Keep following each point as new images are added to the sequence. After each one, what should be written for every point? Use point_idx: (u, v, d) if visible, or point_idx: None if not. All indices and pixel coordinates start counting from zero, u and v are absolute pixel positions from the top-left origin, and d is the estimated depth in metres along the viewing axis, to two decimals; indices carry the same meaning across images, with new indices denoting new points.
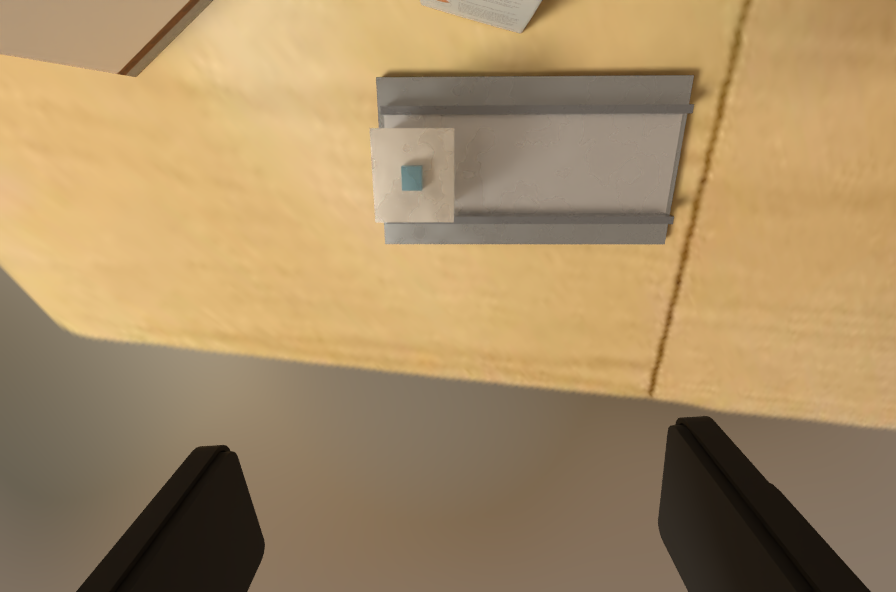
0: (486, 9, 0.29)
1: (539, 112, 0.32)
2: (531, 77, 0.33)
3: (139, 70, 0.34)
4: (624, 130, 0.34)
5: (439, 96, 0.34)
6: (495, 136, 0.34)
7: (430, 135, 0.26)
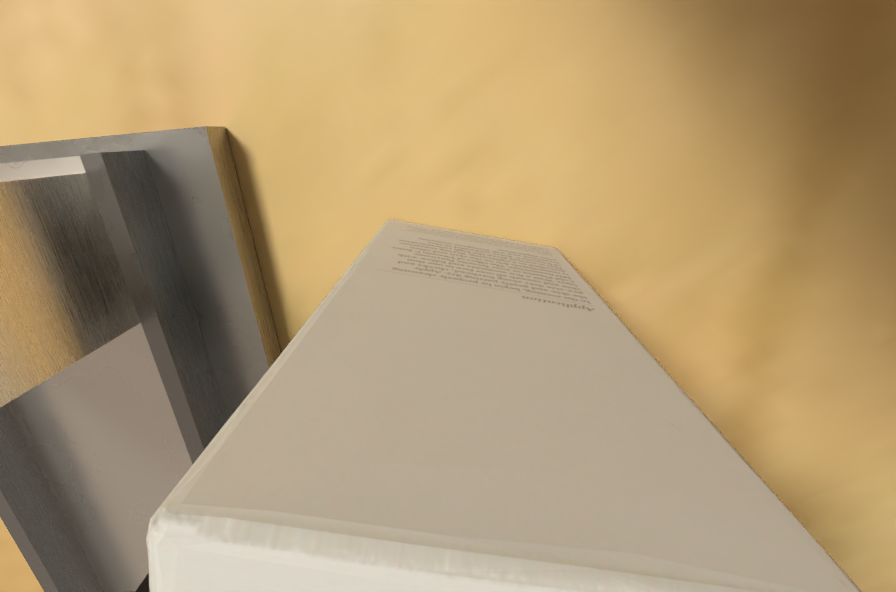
0: None
1: None
2: None
3: None
4: None
5: (206, 279, 0.15)
6: (159, 398, 0.16)
7: None
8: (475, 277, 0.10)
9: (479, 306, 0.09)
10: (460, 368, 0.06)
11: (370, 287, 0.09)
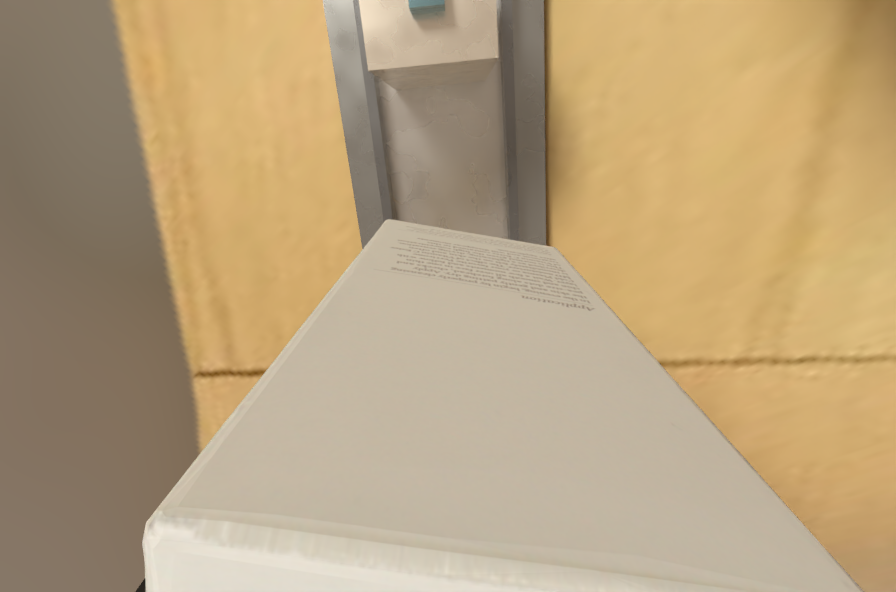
0: None
1: (509, 186, 0.28)
2: (544, 172, 0.29)
3: None
4: None
5: (522, 56, 0.27)
6: (479, 136, 0.28)
7: (487, 20, 0.18)
8: (475, 277, 0.10)
9: (478, 306, 0.09)
10: (460, 368, 0.06)
11: (368, 288, 0.08)
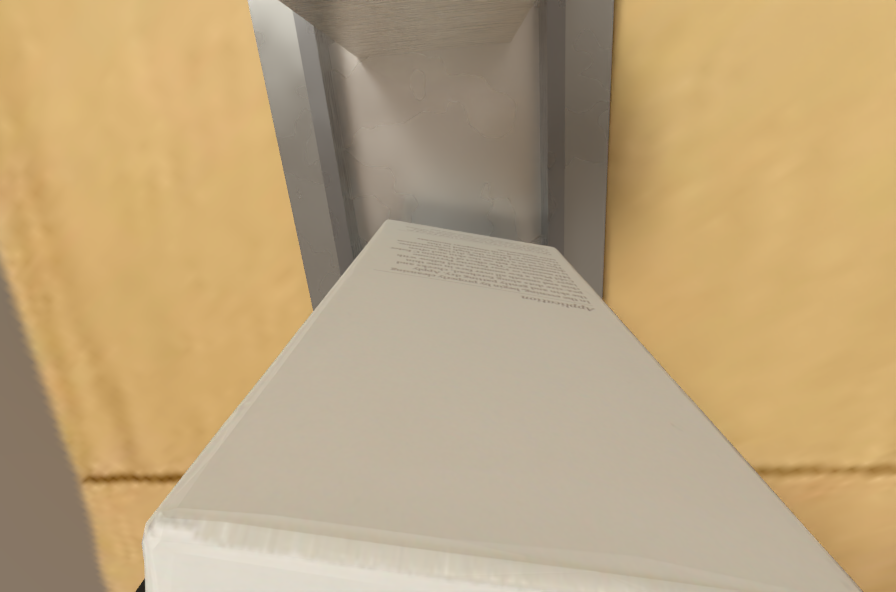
0: None
1: (550, 221, 0.16)
2: (604, 196, 0.18)
3: None
4: None
5: None
6: (499, 138, 0.17)
7: None
8: (474, 277, 0.10)
9: (478, 306, 0.09)
10: (460, 369, 0.06)
11: (368, 288, 0.08)
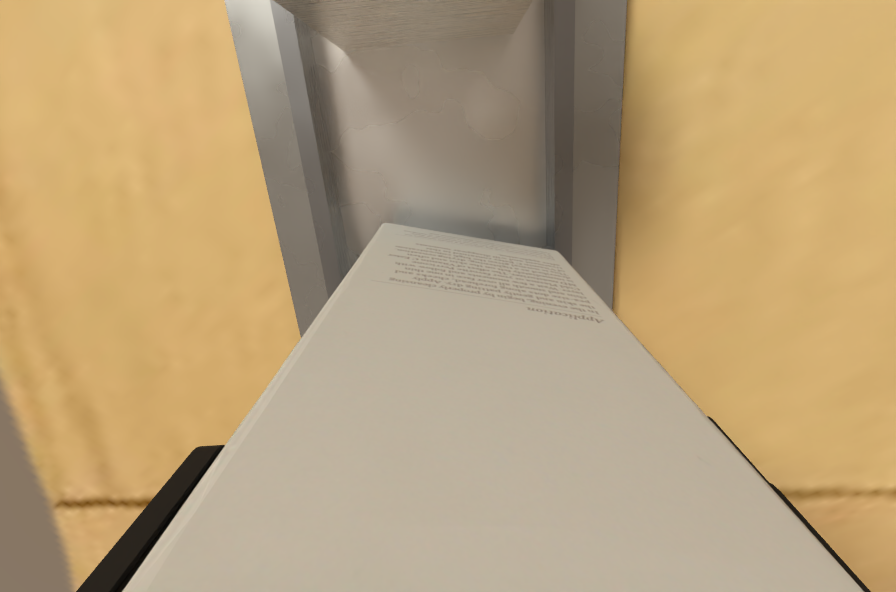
0: None
1: (557, 231, 0.15)
2: (615, 203, 0.16)
3: None
4: None
5: None
6: (500, 139, 0.15)
7: None
8: (477, 287, 0.10)
9: (483, 321, 0.08)
10: (467, 396, 0.06)
11: (365, 302, 0.08)
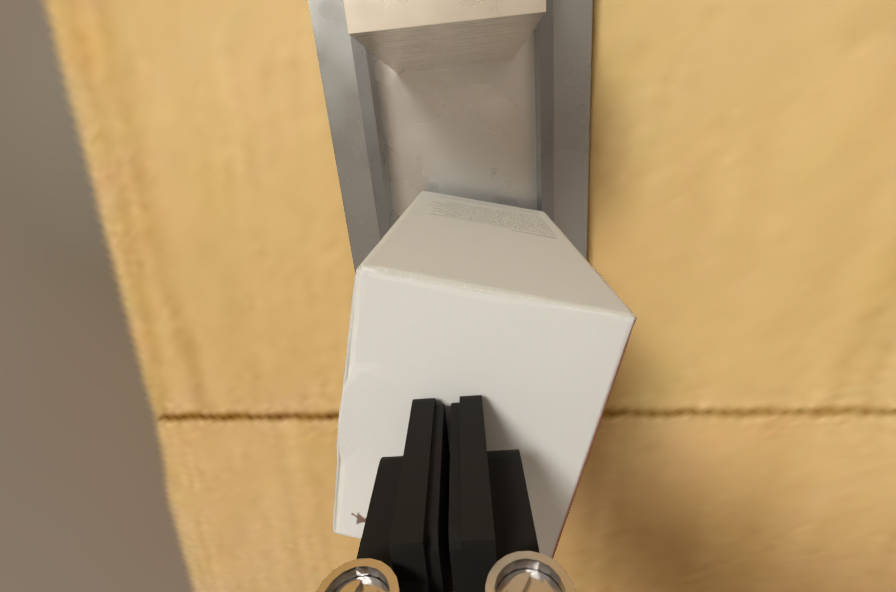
0: None
1: (543, 197, 0.21)
2: (586, 179, 0.23)
3: None
4: None
5: (562, 26, 0.20)
6: (503, 133, 0.22)
7: None
8: (483, 220, 0.16)
9: (483, 231, 0.14)
10: (471, 248, 0.12)
11: (419, 220, 0.14)
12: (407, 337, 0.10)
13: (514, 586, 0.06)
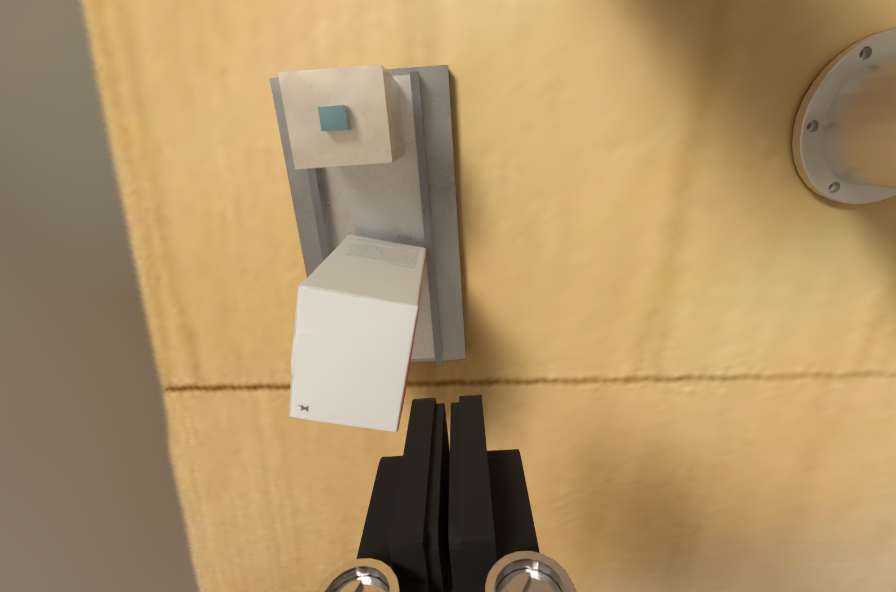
0: None
1: (425, 239, 0.34)
2: (456, 226, 0.36)
3: None
4: (418, 314, 0.38)
5: (434, 137, 0.33)
6: (402, 198, 0.34)
7: (382, 137, 0.24)
8: (376, 257, 0.29)
9: (372, 264, 0.27)
10: (358, 275, 0.25)
11: (337, 258, 0.27)
12: (321, 316, 0.22)
13: (514, 586, 0.06)
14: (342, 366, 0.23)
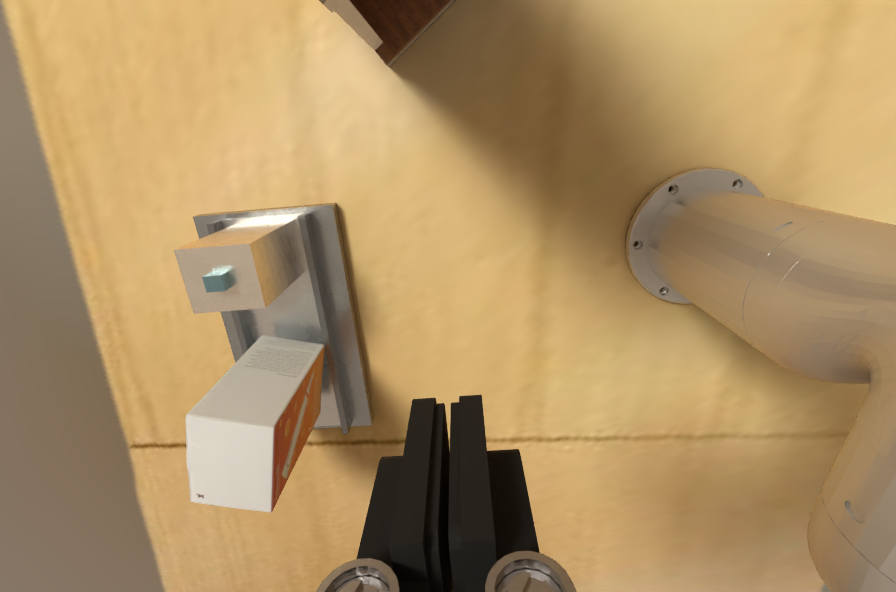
0: None
1: (323, 337, 0.42)
2: (352, 324, 0.44)
3: None
4: (328, 391, 0.46)
5: (327, 257, 0.41)
6: (305, 304, 0.43)
7: (255, 291, 0.32)
8: (269, 367, 0.37)
9: (260, 378, 0.35)
10: (241, 395, 0.33)
11: (233, 374, 0.35)
12: (204, 435, 0.30)
13: (514, 586, 0.06)
14: (224, 468, 0.31)
